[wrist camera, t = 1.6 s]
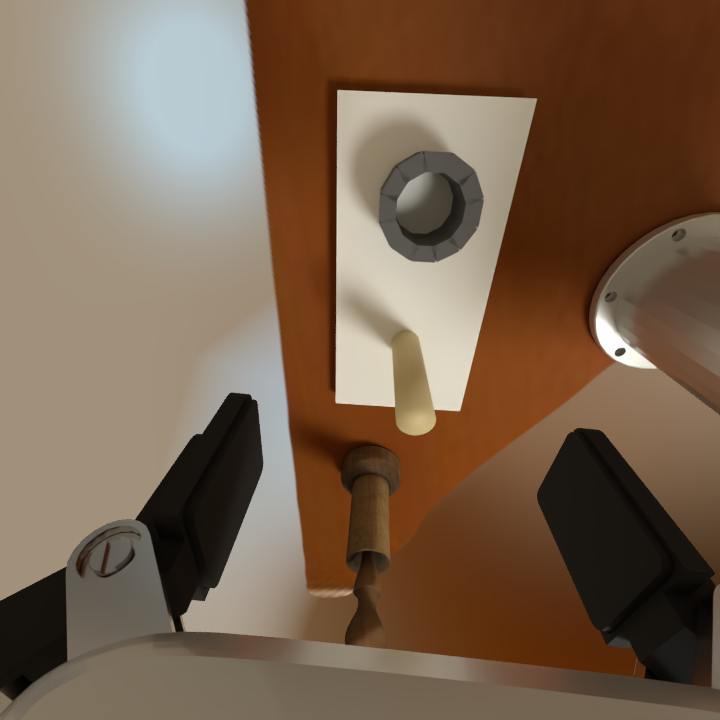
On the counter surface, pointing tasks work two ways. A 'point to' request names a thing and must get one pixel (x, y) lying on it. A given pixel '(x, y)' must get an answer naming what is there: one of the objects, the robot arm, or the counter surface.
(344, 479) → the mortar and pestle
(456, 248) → the ring
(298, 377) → the counter surface
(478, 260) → the post board
